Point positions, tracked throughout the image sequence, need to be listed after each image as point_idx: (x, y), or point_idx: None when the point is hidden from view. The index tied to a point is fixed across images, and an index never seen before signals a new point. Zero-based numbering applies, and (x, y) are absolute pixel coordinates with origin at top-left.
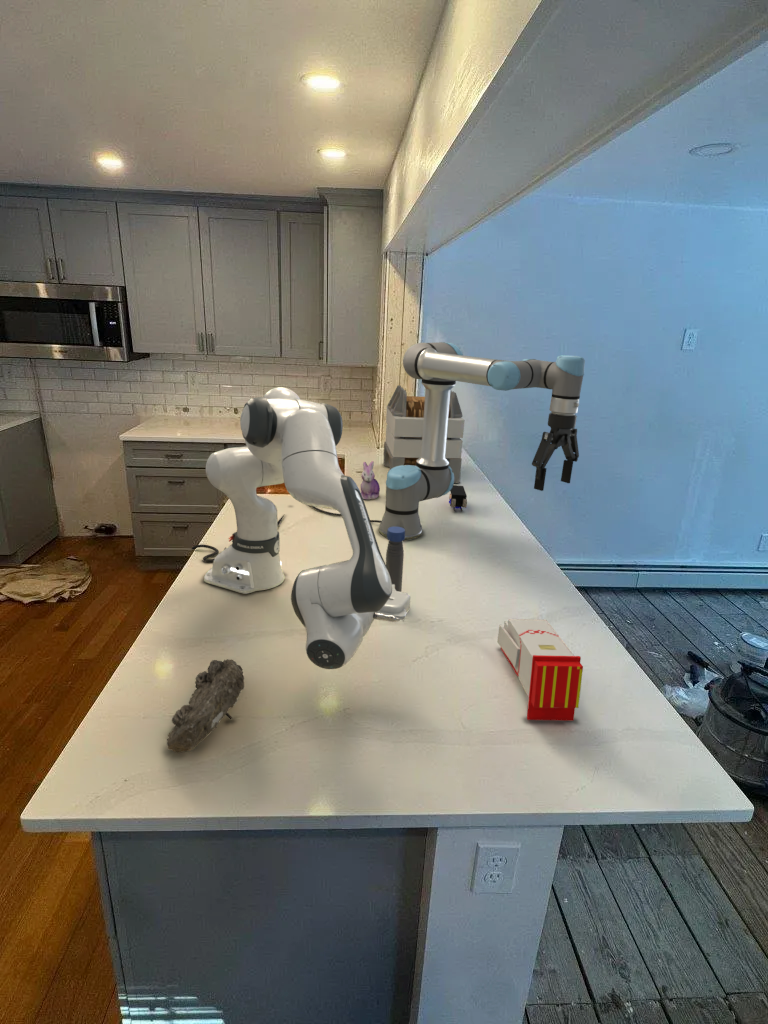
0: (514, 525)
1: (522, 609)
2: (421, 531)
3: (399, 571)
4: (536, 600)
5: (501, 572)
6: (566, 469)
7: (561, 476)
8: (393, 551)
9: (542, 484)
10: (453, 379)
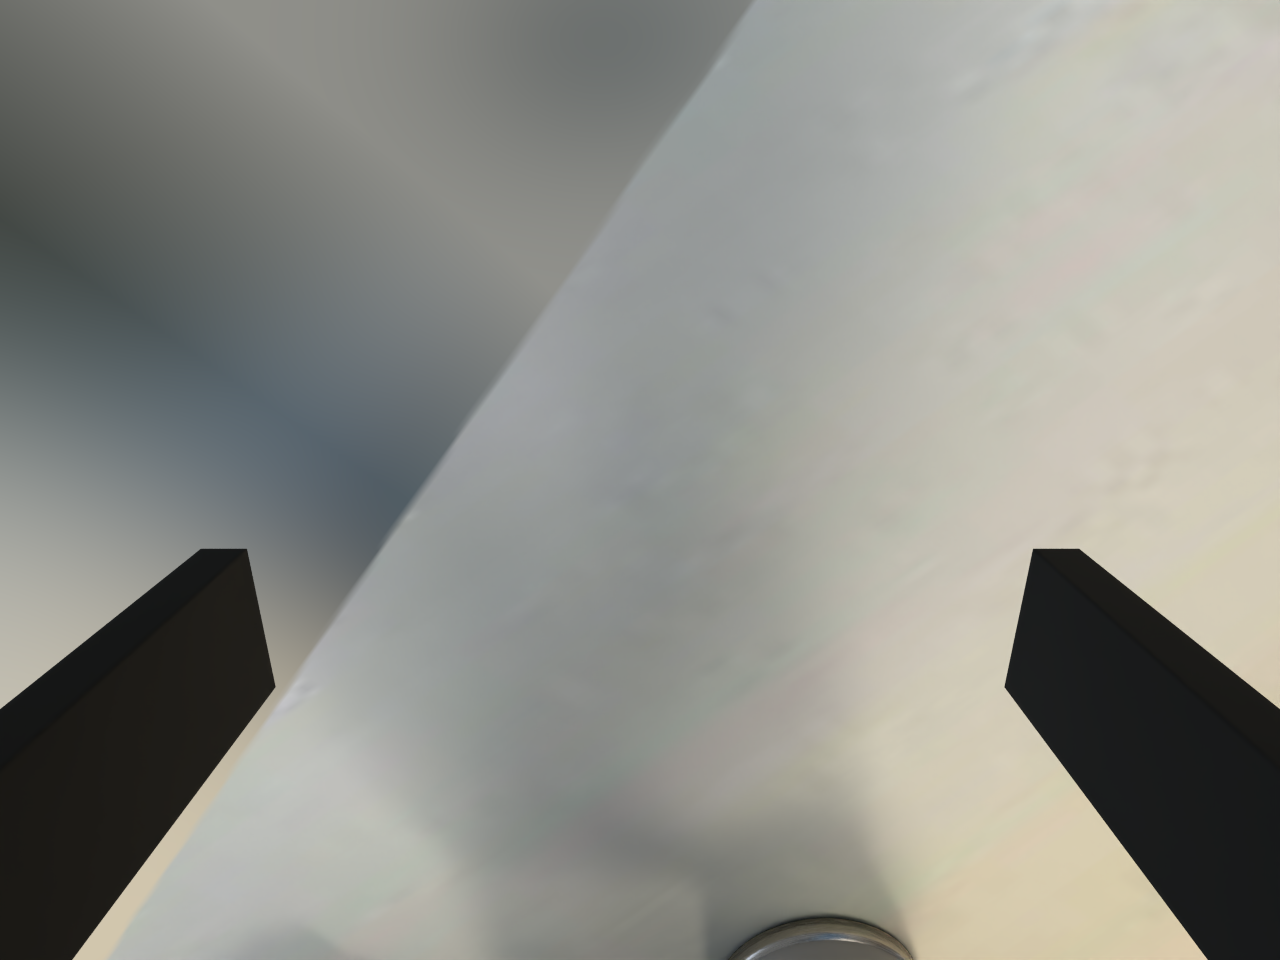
0: (232, 786)
1: (1137, 101)
2: (773, 947)
3: None
4: (976, 118)
5: (813, 461)
6: (106, 796)
7: (234, 741)
8: None
9: (1152, 614)
10: None
